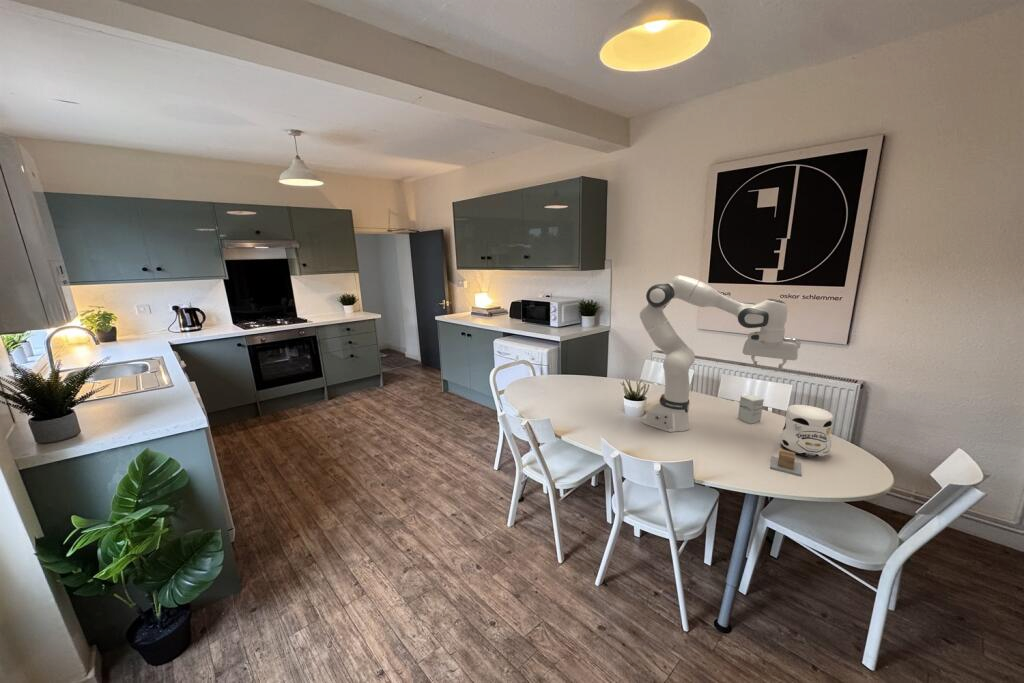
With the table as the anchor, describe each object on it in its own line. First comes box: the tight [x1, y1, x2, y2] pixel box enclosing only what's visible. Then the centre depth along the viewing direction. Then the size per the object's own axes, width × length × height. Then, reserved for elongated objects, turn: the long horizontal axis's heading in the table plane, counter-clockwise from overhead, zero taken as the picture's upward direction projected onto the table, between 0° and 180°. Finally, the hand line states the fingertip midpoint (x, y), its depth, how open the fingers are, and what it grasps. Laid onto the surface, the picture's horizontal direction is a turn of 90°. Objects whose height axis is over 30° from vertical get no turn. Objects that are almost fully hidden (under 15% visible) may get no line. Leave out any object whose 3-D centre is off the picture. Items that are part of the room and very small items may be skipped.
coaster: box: [769, 455, 803, 477], centre depth 153 cm, size 10×10×1 cm
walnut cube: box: [778, 448, 796, 469], centre depth 152 cm, size 5×5×5 cm
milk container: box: [780, 404, 834, 458], centre depth 164 cm, size 17×17×18 cm
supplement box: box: [737, 393, 765, 425], centre depth 194 cm, size 7×7×13 cm
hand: (767, 366), depth 170 cm, fingers open, 8 cm apart
